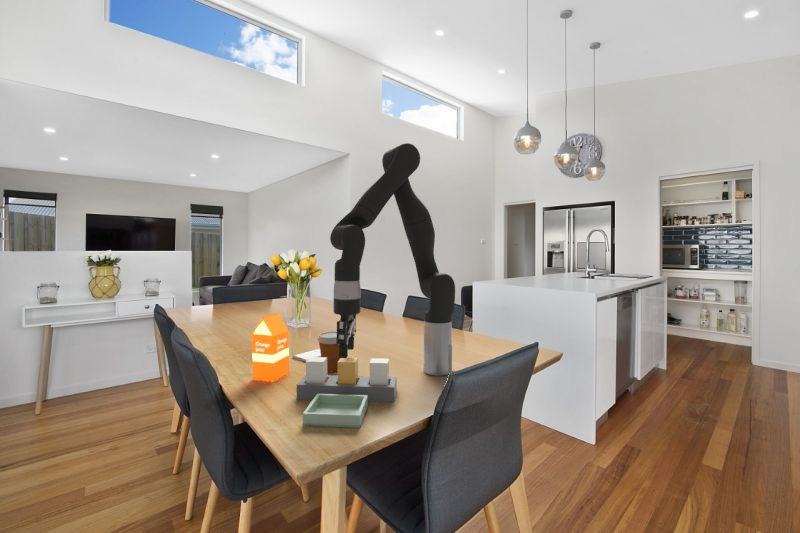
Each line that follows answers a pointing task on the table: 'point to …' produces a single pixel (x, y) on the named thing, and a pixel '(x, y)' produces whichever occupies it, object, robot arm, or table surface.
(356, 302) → the robot arm
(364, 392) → the rack
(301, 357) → the external hard drive
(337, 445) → the table surface
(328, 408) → the tray
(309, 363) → the fuse
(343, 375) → the tan rectangular block
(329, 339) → the disposable coffee cup
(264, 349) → the orange juice
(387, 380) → the fuse
